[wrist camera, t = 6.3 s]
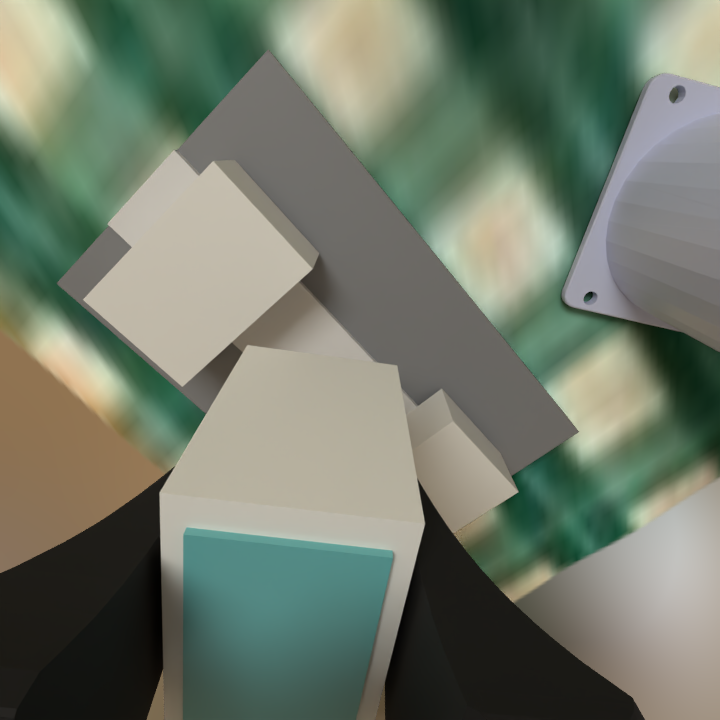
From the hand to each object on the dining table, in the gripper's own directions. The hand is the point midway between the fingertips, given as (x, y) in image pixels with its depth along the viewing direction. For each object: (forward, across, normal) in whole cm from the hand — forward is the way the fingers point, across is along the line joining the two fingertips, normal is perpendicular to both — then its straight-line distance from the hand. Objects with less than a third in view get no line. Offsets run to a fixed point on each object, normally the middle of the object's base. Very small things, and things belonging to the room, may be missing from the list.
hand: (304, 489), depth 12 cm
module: (+2, 0, 0) cm, 2 cm away
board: (+8, 0, 0) cm, 9 cm away
